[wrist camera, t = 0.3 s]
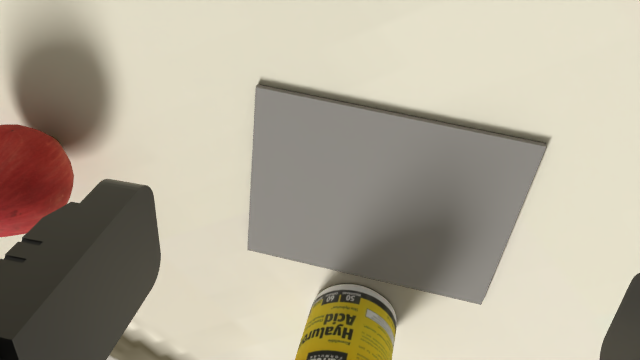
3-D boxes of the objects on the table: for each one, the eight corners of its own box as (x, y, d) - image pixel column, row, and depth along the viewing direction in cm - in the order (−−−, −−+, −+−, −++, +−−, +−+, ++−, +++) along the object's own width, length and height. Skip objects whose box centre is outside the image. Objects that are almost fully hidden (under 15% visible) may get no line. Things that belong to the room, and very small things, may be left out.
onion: (88, 199, 36) (6, 294, 30) (0, 154, 36) (-103, 241, 29) (109, 130, 33) (21, 221, 26) (12, 80, 32) (-102, 160, 26)
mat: (257, 84, 29) (255, 87, 29) (546, 143, 28) (546, 146, 27) (248, 246, 36) (247, 249, 35) (481, 300, 34) (481, 304, 34)
